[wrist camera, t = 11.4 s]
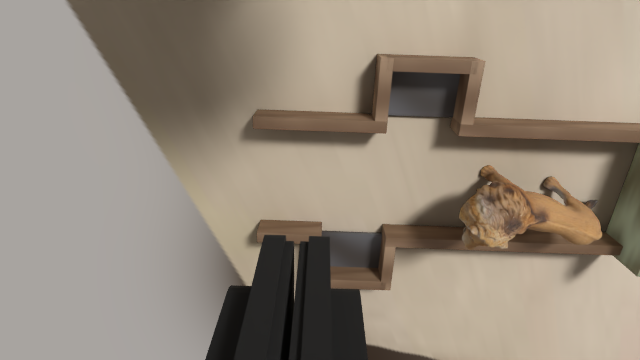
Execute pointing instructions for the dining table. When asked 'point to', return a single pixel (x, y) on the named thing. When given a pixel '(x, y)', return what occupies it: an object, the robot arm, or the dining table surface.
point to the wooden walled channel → (459, 103)
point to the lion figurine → (524, 214)
